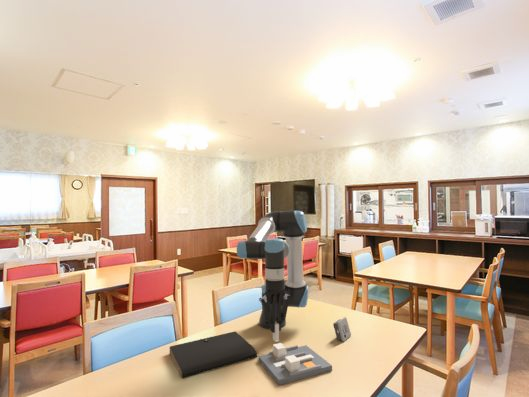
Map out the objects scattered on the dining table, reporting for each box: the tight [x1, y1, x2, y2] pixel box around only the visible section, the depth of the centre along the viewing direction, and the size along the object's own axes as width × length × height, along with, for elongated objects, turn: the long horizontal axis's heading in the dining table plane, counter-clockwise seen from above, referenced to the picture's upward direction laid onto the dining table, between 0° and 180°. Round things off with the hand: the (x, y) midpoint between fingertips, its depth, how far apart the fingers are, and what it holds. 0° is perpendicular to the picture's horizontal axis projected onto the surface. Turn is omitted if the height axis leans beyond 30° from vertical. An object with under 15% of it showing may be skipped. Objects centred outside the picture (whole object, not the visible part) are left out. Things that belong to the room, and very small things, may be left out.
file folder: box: [169, 330, 258, 379], centre depth 137 cm, size 33×4×24 cm
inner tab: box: [272, 342, 287, 358], centre depth 131 cm, size 5×4×4 cm
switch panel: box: [257, 344, 333, 386], centre depth 127 cm, size 20×24×3 cm
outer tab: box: [285, 355, 300, 372], centre depth 120 cm, size 5×4×4 cm
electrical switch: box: [332, 317, 352, 343], centre depth 153 cm, size 9×5×9 cm, turn 141°
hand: (275, 340), depth 117 cm, fingers closed
